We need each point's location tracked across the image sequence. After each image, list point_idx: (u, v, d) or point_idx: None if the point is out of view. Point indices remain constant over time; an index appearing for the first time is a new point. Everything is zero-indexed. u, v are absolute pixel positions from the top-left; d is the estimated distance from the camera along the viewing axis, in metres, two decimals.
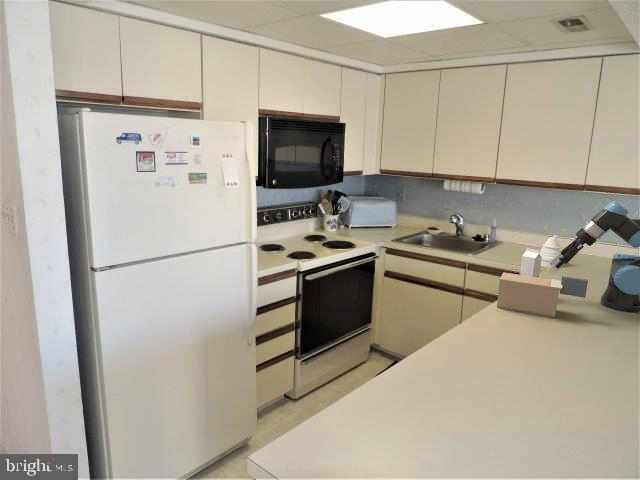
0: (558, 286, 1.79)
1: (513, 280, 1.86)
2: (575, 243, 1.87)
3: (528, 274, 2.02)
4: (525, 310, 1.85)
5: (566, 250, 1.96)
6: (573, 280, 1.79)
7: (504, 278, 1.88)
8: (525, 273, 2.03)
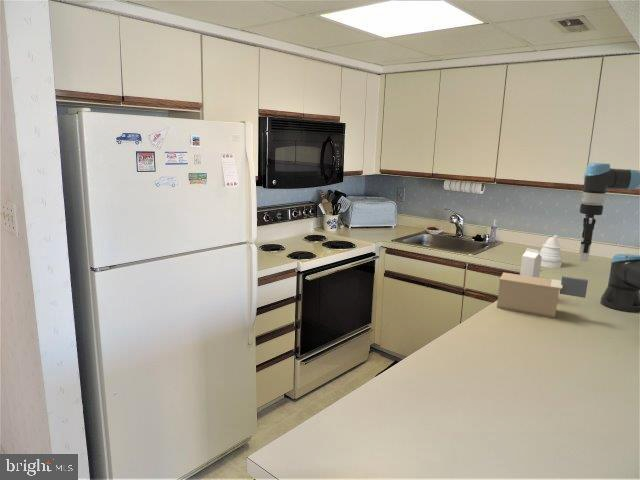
0: (558, 286, 1.79)
1: (513, 280, 1.86)
2: (586, 220, 1.73)
3: (528, 274, 2.02)
4: (525, 310, 1.85)
5: (585, 232, 1.80)
6: (573, 280, 1.79)
7: (504, 278, 1.88)
8: (525, 273, 2.03)
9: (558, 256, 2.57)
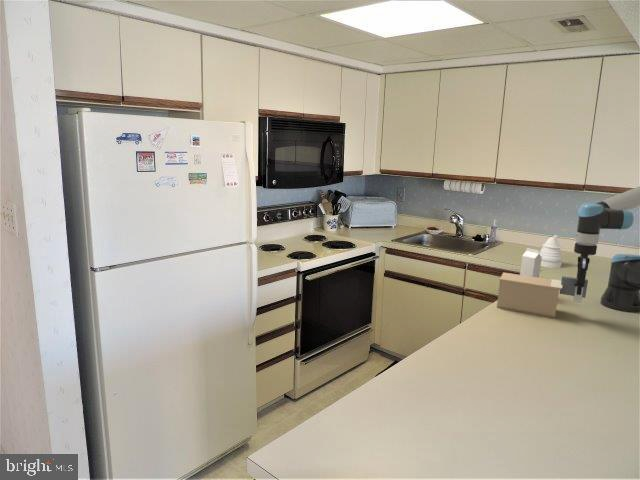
0: (558, 286, 1.79)
1: (513, 280, 1.86)
2: (580, 261, 1.76)
3: (528, 274, 2.02)
4: (525, 310, 1.85)
5: None
6: (573, 280, 1.79)
7: (504, 278, 1.88)
8: (525, 273, 2.03)
9: (558, 256, 2.57)
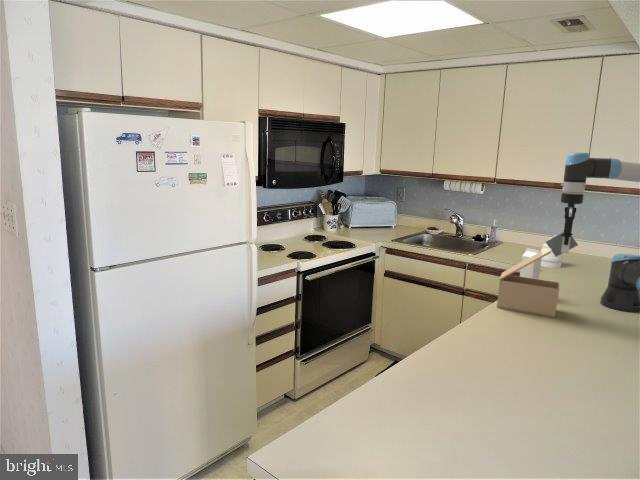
0: (547, 251, 1.78)
1: (510, 272, 1.86)
2: (566, 210, 1.75)
3: (528, 274, 2.02)
4: (525, 310, 1.85)
5: None
6: (556, 238, 1.79)
7: (502, 276, 1.88)
8: (525, 273, 2.03)
9: (558, 256, 2.57)
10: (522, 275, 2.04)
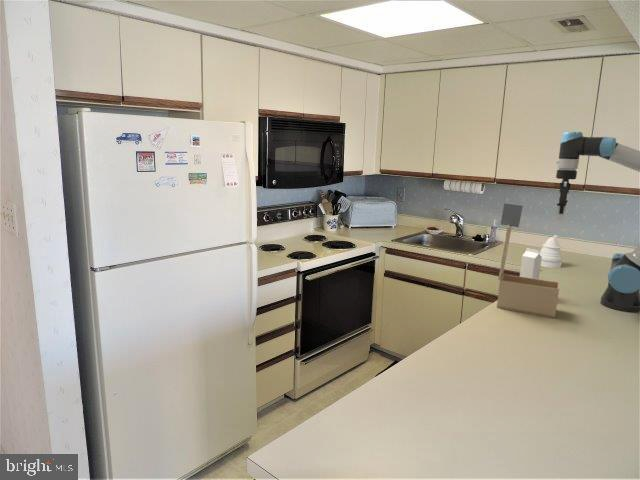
0: (507, 228, 1.84)
1: None
2: (561, 184, 1.89)
3: (528, 274, 2.02)
4: (525, 310, 1.85)
5: None
6: (503, 215, 1.87)
7: (499, 275, 1.89)
8: (525, 273, 2.03)
9: (558, 256, 2.57)
10: (522, 275, 2.04)
